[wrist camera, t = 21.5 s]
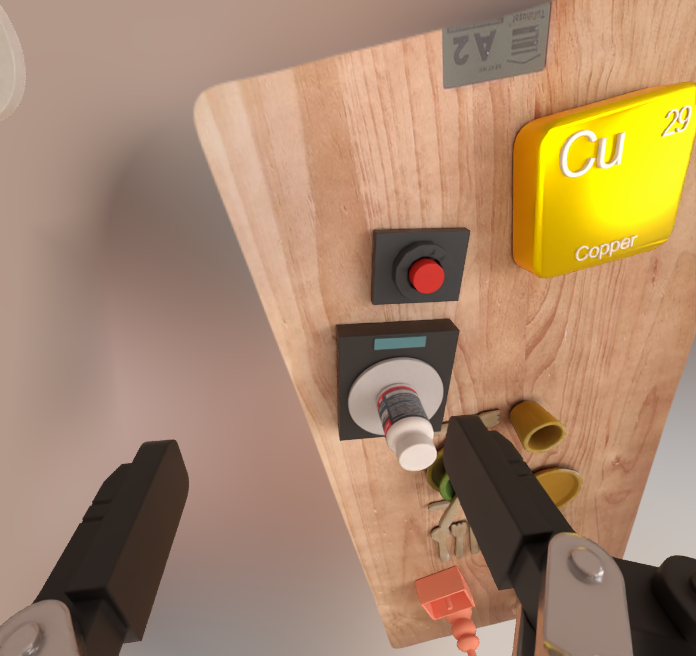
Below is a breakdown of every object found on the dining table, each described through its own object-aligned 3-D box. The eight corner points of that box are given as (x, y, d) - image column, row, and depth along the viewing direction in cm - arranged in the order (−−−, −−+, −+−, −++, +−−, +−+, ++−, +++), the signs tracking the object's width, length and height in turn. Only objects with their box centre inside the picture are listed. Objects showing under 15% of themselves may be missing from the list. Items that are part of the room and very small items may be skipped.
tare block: (370, 300, 39) (375, 311, 37) (373, 229, 35) (379, 236, 33) (453, 296, 40) (464, 306, 38) (465, 227, 36) (477, 234, 34)
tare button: (407, 287, 36) (412, 294, 35) (410, 258, 35) (415, 264, 33) (436, 286, 36) (442, 292, 35) (440, 257, 35) (446, 262, 33)
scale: (337, 424, 48) (340, 445, 45) (336, 324, 40) (339, 341, 37) (433, 416, 49) (443, 436, 46) (449, 318, 42) (462, 333, 38)
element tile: (511, 270, 40) (535, 285, 35) (511, 125, 32) (542, 122, 28) (636, 236, 39) (675, 247, 35) (665, 82, 32) (720, 73, 28)
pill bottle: (372, 388, 41) (389, 445, 33) (414, 378, 41) (441, 433, 33) (378, 419, 43) (396, 480, 35) (418, 410, 43) (444, 468, 36)
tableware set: (415, 420, 49) (429, 455, 44) (599, 376, 50) (636, 406, 44) (434, 564, 70) (446, 600, 64) (565, 532, 70) (587, 565, 65)
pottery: (414, 581, 72) (430, 640, 64) (456, 565, 71) (477, 623, 63) (438, 612, 81) (454, 668, 72) (475, 599, 80) (496, 653, 71)
